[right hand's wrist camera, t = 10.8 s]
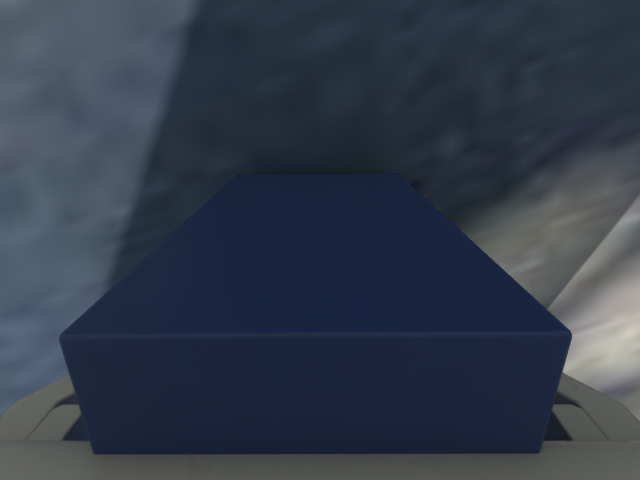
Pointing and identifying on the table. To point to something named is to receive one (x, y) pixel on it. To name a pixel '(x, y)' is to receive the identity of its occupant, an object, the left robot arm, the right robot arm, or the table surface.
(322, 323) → the box
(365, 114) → the table surface
